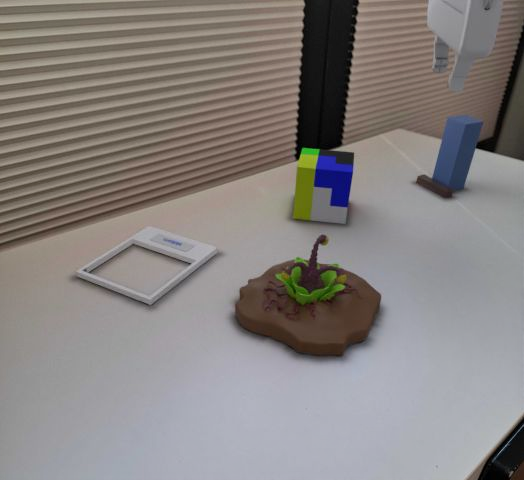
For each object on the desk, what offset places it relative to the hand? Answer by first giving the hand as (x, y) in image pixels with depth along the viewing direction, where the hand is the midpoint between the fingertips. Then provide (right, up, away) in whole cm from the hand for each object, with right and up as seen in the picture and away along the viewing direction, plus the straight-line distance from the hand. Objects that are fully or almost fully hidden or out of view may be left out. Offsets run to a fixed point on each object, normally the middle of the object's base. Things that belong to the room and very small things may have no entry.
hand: (446, 80), depth 69 cm
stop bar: (+12, -2, +41) cm, 43 cm away
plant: (-18, -31, +7) cm, 36 cm away
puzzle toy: (-13, -9, +32) cm, 36 cm away
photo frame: (-43, -23, +14) cm, 51 cm away
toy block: (+16, -1, +43) cm, 45 cm away
